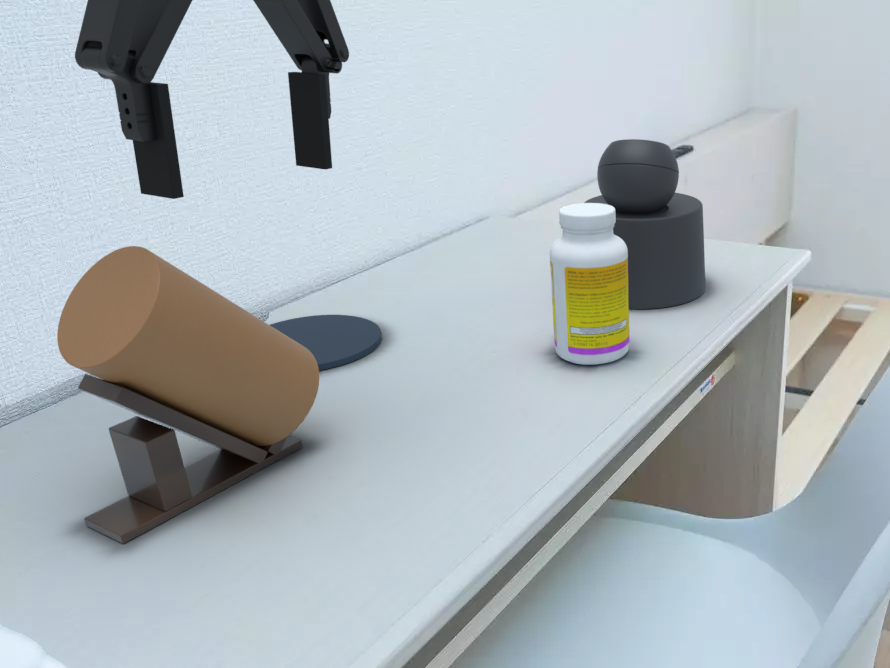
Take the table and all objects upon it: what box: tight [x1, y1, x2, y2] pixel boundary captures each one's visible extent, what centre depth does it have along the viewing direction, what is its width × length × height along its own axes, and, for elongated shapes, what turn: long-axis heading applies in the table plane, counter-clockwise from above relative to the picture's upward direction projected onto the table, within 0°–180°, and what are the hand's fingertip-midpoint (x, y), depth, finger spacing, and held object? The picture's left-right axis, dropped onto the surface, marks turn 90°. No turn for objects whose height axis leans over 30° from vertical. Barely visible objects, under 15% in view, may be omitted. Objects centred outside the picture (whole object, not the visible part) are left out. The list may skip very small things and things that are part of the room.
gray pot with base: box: [583, 138, 707, 310], centre depth 92 cm, size 13×16×14 cm
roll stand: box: [77, 373, 303, 545], centre depth 59 cm, size 4×14×9 cm, turn 148°
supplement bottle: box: [549, 202, 630, 366], centre depth 77 cm, size 7×7×13 cm
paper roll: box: [56, 245, 320, 447], centre depth 58 cm, size 8×16×16 cm, turn 148°
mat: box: [269, 314, 383, 371], centre depth 83 cm, size 13×13×1 cm
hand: (245, 180), depth 60 cm, fingers open, 13 cm apart
